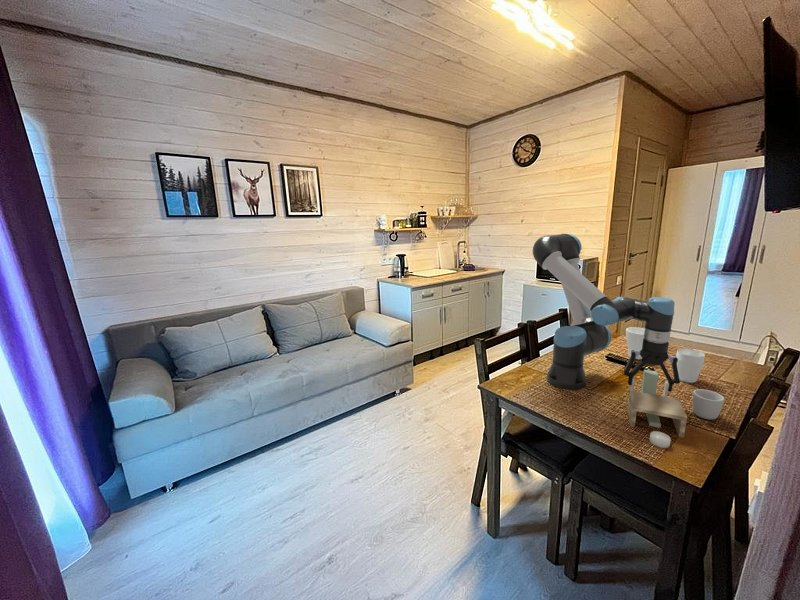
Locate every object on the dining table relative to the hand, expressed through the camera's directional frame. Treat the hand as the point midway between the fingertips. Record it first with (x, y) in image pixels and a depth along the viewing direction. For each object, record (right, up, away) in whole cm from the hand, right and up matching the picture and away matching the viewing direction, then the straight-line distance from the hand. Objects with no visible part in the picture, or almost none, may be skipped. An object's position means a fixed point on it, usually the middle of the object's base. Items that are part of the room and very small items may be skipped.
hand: (647, 395), depth 127 cm
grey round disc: (-13, -8, -23) cm, 28 cm away
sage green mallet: (-4, -4, -7) cm, 9 cm away
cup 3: (+13, -4, -10) cm, 16 cm away
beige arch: (-8, -5, -13) cm, 16 cm away
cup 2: (+26, +3, +14) cm, 30 cm away
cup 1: (+21, +8, +37) cm, 43 cm away
